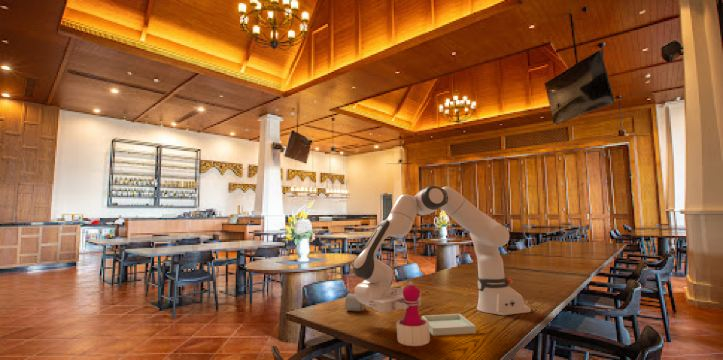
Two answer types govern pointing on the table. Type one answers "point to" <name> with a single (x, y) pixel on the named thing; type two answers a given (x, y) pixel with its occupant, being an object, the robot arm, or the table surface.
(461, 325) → the sage tray
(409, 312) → the pepper mill
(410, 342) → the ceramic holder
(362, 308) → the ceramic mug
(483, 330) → the table surface
